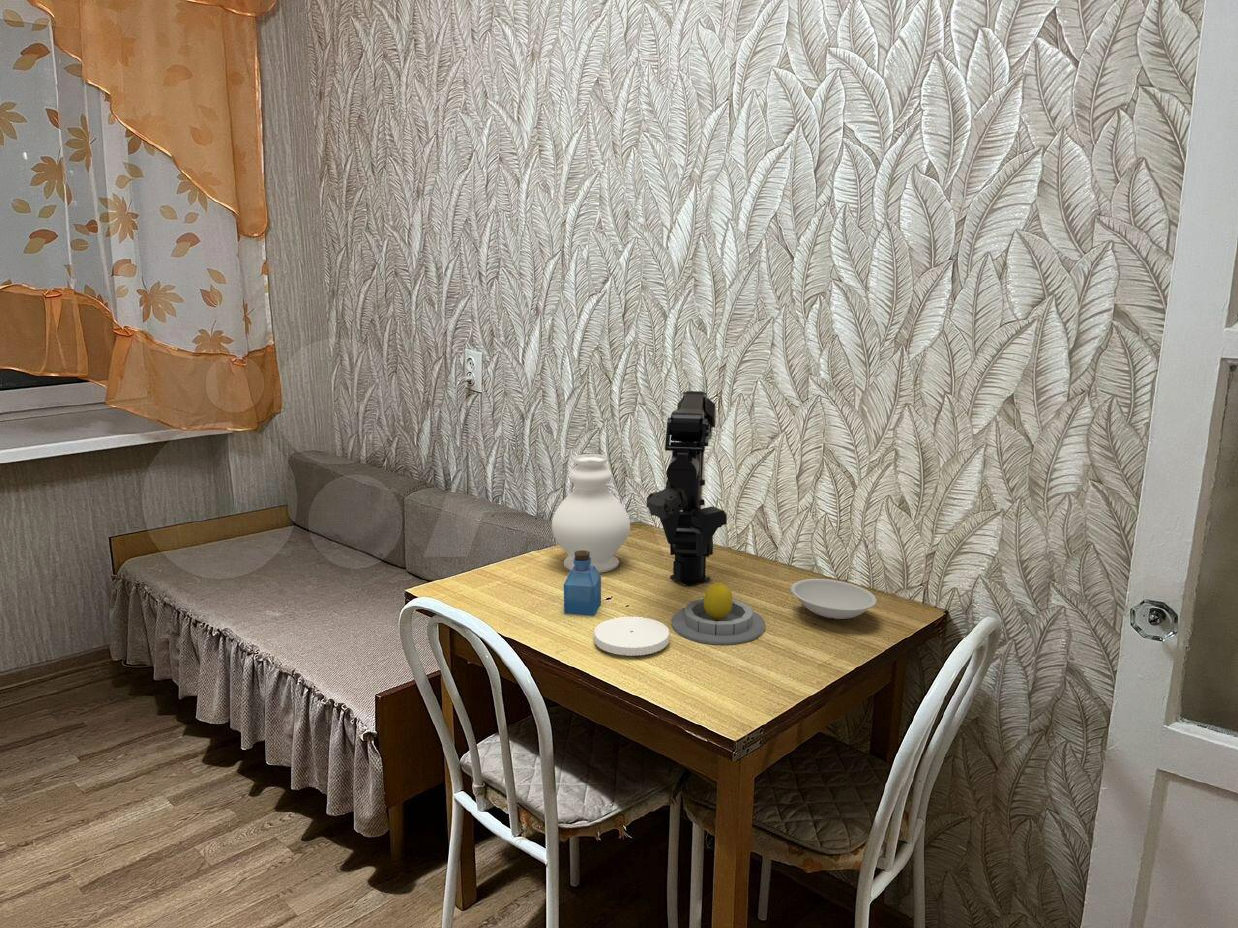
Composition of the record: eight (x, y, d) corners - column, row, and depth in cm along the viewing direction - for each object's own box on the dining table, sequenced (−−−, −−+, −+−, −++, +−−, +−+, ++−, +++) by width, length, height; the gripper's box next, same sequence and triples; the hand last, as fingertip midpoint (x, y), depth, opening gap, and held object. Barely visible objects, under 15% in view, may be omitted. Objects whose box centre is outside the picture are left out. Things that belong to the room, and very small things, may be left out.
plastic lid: (684, 646, 176) (685, 634, 175) (626, 668, 167) (626, 654, 166) (636, 622, 186) (636, 610, 186) (579, 641, 178) (578, 629, 177)
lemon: (700, 615, 186) (702, 577, 184) (728, 614, 187) (730, 576, 185) (705, 627, 181) (707, 588, 179) (734, 626, 182) (736, 587, 180)
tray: (722, 600, 196) (722, 586, 196) (784, 629, 182) (785, 615, 181) (653, 620, 186) (653, 606, 186) (713, 653, 172) (713, 637, 171)
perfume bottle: (594, 616, 189) (593, 559, 186) (564, 613, 190) (563, 556, 187) (601, 604, 195) (600, 548, 192) (571, 601, 196) (571, 546, 193)
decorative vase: (644, 559, 220) (645, 455, 214) (602, 583, 206) (601, 471, 200) (581, 546, 230) (580, 445, 224) (536, 567, 215) (534, 461, 209)
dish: (773, 613, 190) (774, 589, 189) (818, 595, 199) (819, 572, 198) (846, 641, 177) (848, 616, 176) (890, 621, 186) (892, 597, 185)
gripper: (625, 471, 190) (625, 544, 194) (684, 492, 175) (683, 571, 179) (668, 462, 196) (667, 534, 200) (729, 482, 182) (727, 559, 186)
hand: (685, 549), depth 191 cm, fingers open, 9 cm apart
